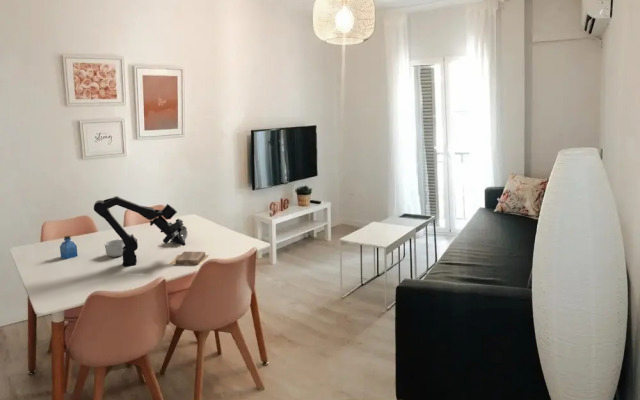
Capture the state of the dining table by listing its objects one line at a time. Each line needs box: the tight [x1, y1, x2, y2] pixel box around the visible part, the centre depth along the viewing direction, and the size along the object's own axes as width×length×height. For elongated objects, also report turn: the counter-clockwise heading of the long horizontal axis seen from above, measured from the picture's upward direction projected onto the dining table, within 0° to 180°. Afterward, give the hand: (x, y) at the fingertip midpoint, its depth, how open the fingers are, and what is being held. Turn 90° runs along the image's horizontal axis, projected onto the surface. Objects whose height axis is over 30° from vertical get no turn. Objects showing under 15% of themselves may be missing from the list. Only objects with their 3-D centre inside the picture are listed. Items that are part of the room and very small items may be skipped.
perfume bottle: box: [59, 235, 79, 260], centre depth 275 cm, size 6×6×12 cm
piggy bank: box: [173, 224, 188, 245], centre depth 303 cm, size 11×15×12 cm
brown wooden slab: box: [176, 251, 206, 266], centre depth 269 cm, size 2×15×12 cm
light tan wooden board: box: [168, 254, 210, 266], centre depth 271 cm, size 18×17×1 cm
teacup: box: [104, 238, 125, 258], centre depth 280 cm, size 14×11×8 cm
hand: (184, 245), depth 268 cm, fingers closed
